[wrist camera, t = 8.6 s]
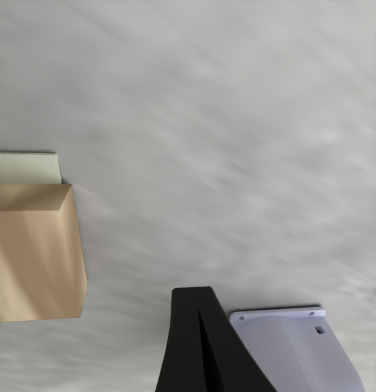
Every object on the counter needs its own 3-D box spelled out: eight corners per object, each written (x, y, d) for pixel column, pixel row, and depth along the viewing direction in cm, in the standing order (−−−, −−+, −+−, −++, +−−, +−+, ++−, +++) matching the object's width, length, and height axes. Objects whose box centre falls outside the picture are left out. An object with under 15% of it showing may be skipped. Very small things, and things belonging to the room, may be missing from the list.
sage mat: (56, 153, 17) (55, 154, 17) (82, 299, 24) (81, 302, 24) (-92, 151, 16) (-96, 153, 16) (-22, 304, 23) (-24, 307, 23)
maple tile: (59, 210, 16) (-85, 212, 15) (79, 317, 20) (-29, 323, 19) (71, 184, 18) (-50, 184, 17) (87, 284, 23) (-9, 288, 22)
